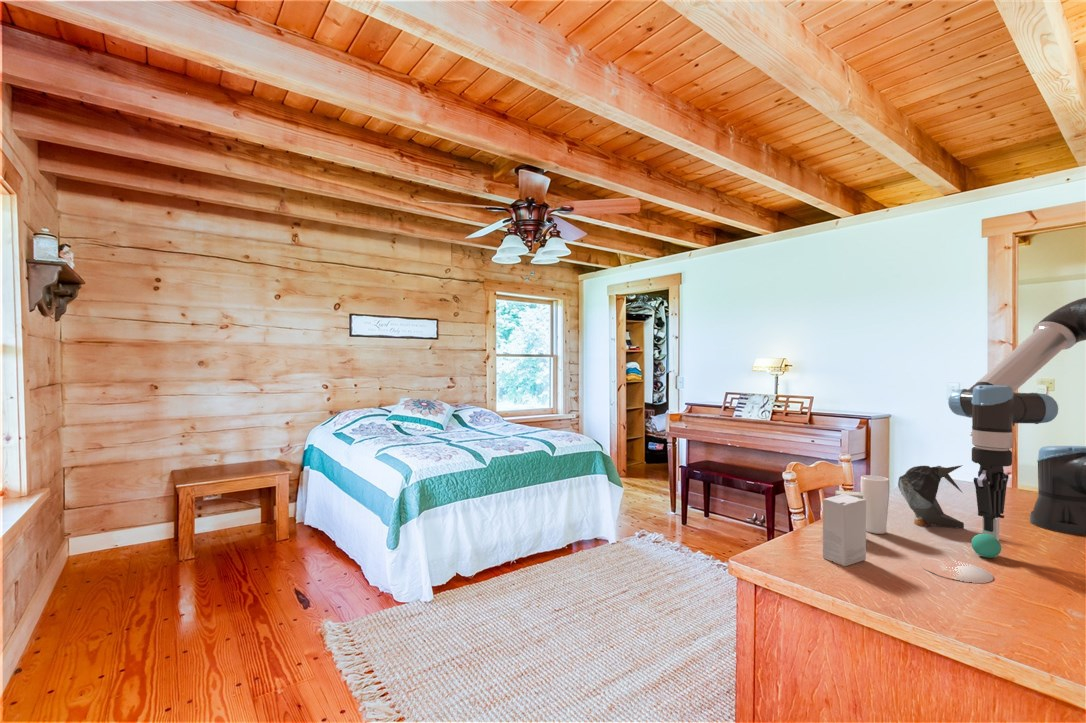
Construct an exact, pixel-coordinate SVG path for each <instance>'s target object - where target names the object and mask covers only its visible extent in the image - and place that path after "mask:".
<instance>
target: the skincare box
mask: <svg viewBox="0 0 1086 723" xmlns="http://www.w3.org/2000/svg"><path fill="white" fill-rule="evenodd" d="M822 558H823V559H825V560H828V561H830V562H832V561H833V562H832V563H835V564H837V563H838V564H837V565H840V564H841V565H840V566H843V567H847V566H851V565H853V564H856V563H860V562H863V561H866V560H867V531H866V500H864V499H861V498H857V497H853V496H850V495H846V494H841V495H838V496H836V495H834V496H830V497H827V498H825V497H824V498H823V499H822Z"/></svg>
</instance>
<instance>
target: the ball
mask: <svg viewBox="0 0 1086 723" xmlns="http://www.w3.org/2000/svg"><path fill="white" fill-rule="evenodd" d="M970 542H971V544H970V545H971V548H972V550H973V551H974V553H975V554H977V555H979V556H981V557H983V558H986V559H987V558H988V559H991V558H992V559H993V558H995V557H997V556H999V555H1000V553H1001V552H1002V546H1001V543H1000V540H999V541H998V540H997V539H996V538H995V537H993V536H991V535H988V534H983V533H979V534H976V535H975V536H973V537H972V538H971V541H970Z"/></svg>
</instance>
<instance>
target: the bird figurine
mask: <svg viewBox="0 0 1086 723" xmlns="http://www.w3.org/2000/svg"><path fill="white" fill-rule="evenodd" d="M962 466H964V465H957V466H956V465H955V466H949V467H944V466H942V465H937V466H930V465H917V466H916V465H915V466H912V467H911V468H909V469H907V471H906V472H905V474H903V475H901V476H899V477H898V481H897V486H898V489H899V492H900V494H901V495H902V496H903V498H904V500H905V501H906V503H907V505H908V507H909V508H910V510H912V511H913V513H914V522H913V524H914V525H916V526H919V527H927V526H928V527H929V526H938V527H945V528H951V527H953V528H952V529H962V530H964V529H965V524H964V522H963V521H960V520H958V519H957V518H955V517H952V516H950V515H948V514H946V513H945V512H944V511H943V509H942V507H941V505H940V504H939V502H938V500H937V493H938V491H939V485H940V483H941V481H942V480H941V479H943V478H944V479H945V480H946V481H947V482H949V483H950V484H951V485H952V486H953V487H955V488H956V489H957V490H958V491H959V492H960V493H963V491H962V489H961V488H959V486H958V484H957V483H956V482H955V480H954V479H953V478H952V477H951V475H950V473H952V472H954V471H955V470H957V469H959V468H961V467H962Z"/></svg>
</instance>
